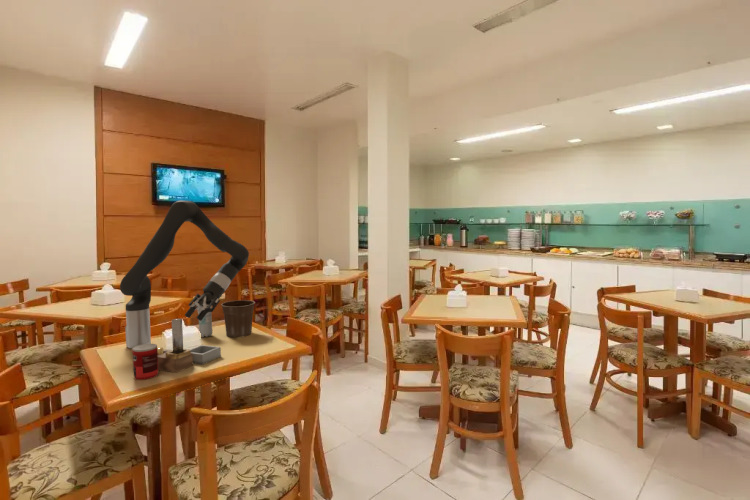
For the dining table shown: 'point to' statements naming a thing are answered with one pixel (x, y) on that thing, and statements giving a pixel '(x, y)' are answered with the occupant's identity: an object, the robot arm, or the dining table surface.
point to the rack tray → (205, 353)
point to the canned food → (145, 361)
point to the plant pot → (238, 317)
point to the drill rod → (177, 336)
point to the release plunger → (160, 350)
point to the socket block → (175, 360)
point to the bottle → (205, 324)
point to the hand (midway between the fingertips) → (192, 318)
